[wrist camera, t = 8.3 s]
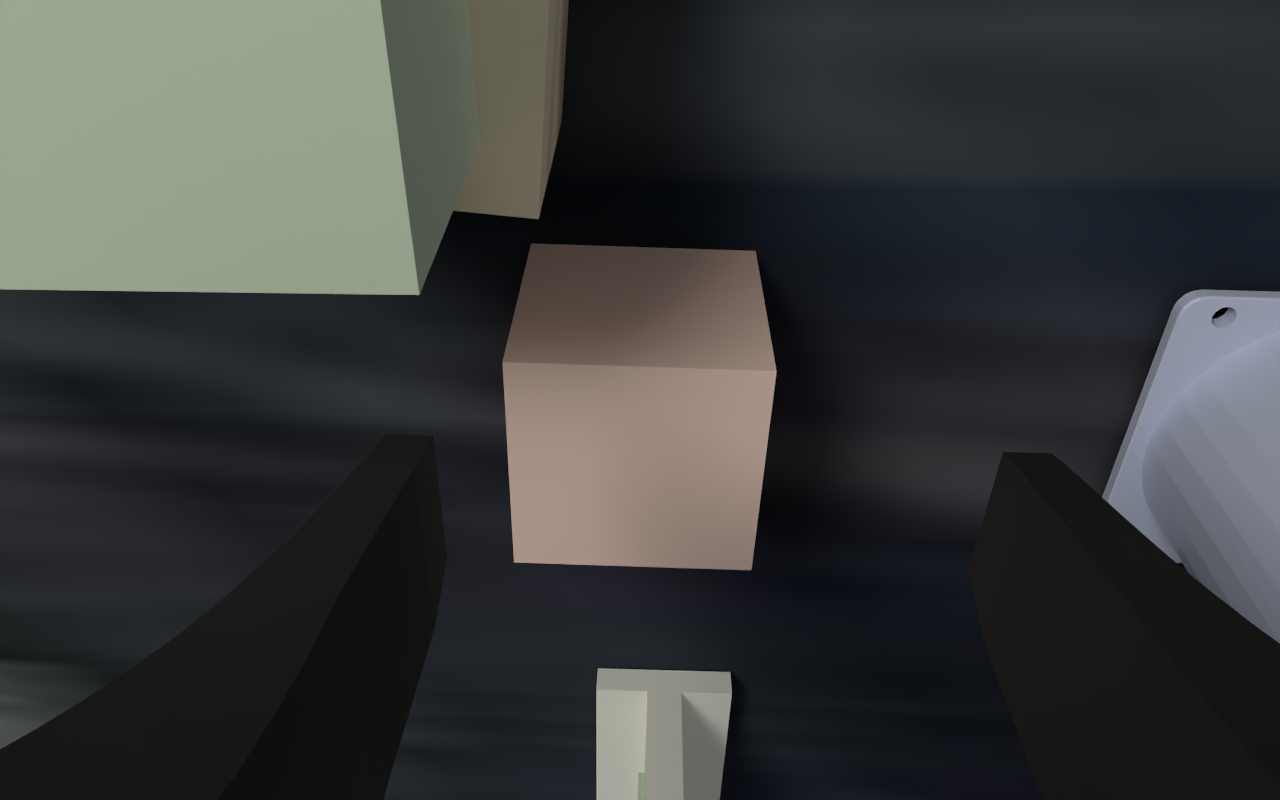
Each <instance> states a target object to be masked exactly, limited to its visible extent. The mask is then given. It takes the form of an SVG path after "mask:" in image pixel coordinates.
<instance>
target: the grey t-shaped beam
mask: <svg viewBox="0 0 1280 800" xmlns="http://www.w3.org/2000/svg"><path fill="white" fill-rule="evenodd" d="M731 698H732V687H731V673H730V672H709V671H674V670H639V669H603V668H598V674H597V800H720V792H721V784H722V775H723V767H724V758H725V749H726V741H727V732H728V724H729V715H730V706H731Z"/></svg>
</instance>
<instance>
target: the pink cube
mask: <svg viewBox="0 0 1280 800" xmlns="http://www.w3.org/2000/svg"><path fill="white" fill-rule="evenodd" d="M776 372H777V370H776V365H775V359H774V353H773V348H772V342H771V336H770V330H769V325H768V319H767V313H766V307H765V302H764V296H763V290H762V285H761V279H760V273H759V267H758V262H757V256H756V251H741V250H711V249H681V248H651V247H621V246H591V245H561V244H531V246H530V250H529V254H528V258H527V263H526V267H525V271H524V275H523V279H522V283H521V287H520V292H519V296H518V300H517V304H516V308H515V312H514V316H513V321H512V325H511V329H510V333H509V337H508V341H507V345H506V350H505V354H504V358H503V379H504V396H505V414H506V431H507V448H508V465H509V483H510V500H511V517H512V534H513V552H514V562H517V563H548V564H578V565H608V566H639V567H669V568H699V569H730V570H751V569H752V562H753V554H754V546H755V538H756V530H757V522H758V514H759V506H760V498H761V491H762V483H763V475H764V467H765V459H766V451H767V443H768V435H769V428H770V420H771V412H772V404H773V396H774V388H775V380H776Z"/></svg>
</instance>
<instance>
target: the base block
mask: <svg viewBox="0 0 1280 800" xmlns="http://www.w3.org/2000/svg"><path fill="white" fill-rule="evenodd" d="M568 4H569V0H468V8H469V20H470V32H471V43H472V55H473V67H474V79H475V90H476V102H477V114H478V126H479V137H480V145H479V148H478V150H477V153H476V155H475V158H474V160H473V163H472V165H471V168H470V170H469V173H468V175H467V178H466V180H465V182H464V185H463V187H462V190H461V192H460V195H459V197H458V200H457V202H456V205H455V207H454V210H453V211H462V212H472V213H482V214H492V215H502V216H512V217H522V218H531V219H539V216H540V211H541V207H542V203H543V198H544V194H545V190H546V186H547V181H548V177H549V173H550V168H551V164H552V160H553V156H554V151H555V147H556V143H557V139H558V134H559V130H560V126H561V121H562V106H563V89H564V72H565V55H566V38H567V21H568Z"/></svg>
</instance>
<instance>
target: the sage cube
mask: <svg viewBox="0 0 1280 800" xmlns="http://www.w3.org/2000/svg"><path fill="white" fill-rule="evenodd" d="M479 145H480V137H479V126H478V114H477V102H476V90H475V79H474V67H473V55H472V43H471V32H470V20H469V8H468V0H0V289H20V290H93V291H166V292H239V293H312V294H385V295H420V292H421V290H422V287H423V285H424V282H425V280H426V277H427V275H428V272H429V270H430V267H431V265H432V262H433V260H434V257H435V255H436V252H437V250H438V247H439V245H440V242H441V240H442V237H443V235H444V232H445V230H446V227H447V225H448V222H449V220H450V217H451V215H452V212H453V210H454V207H455V205H456V202H457V200H458V197H459V195H460V192H461V190H462V187H463V185H464V182H465V180H466V178H467V175H468V173H469V170H470V168H471V165H472V163H473V160H474V158H475V155H476V153H477V150H478V148H479Z"/></svg>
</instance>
